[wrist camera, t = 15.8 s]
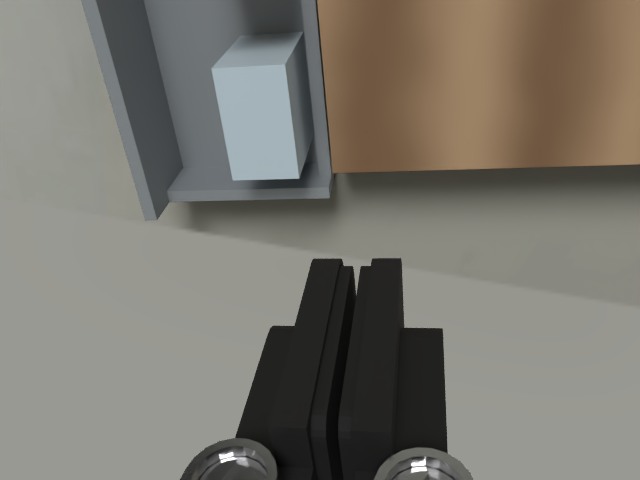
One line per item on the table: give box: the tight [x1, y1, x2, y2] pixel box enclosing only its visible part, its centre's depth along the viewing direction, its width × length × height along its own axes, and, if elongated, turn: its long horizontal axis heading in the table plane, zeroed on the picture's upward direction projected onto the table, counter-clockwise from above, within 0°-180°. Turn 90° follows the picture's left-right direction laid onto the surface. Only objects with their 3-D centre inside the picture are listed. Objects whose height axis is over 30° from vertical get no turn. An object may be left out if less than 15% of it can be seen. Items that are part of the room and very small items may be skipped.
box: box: [81, 0, 335, 220], centre depth 25 cm, size 9×18×5 cm, turn 5°
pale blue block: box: [211, 32, 314, 180], centre depth 27 cm, size 5×5×3 cm
